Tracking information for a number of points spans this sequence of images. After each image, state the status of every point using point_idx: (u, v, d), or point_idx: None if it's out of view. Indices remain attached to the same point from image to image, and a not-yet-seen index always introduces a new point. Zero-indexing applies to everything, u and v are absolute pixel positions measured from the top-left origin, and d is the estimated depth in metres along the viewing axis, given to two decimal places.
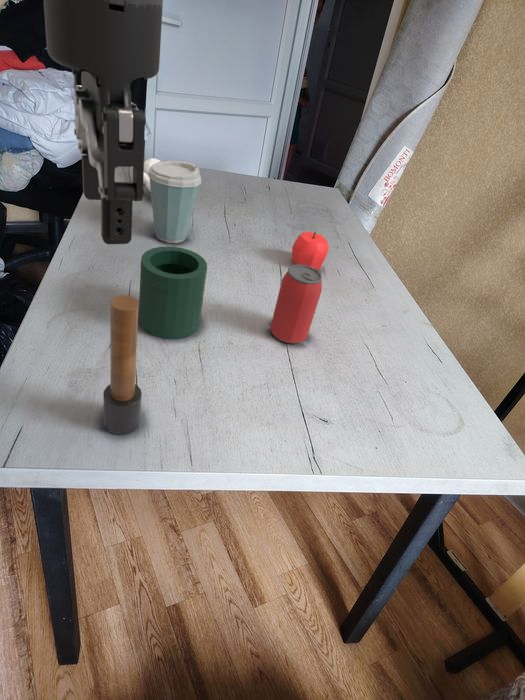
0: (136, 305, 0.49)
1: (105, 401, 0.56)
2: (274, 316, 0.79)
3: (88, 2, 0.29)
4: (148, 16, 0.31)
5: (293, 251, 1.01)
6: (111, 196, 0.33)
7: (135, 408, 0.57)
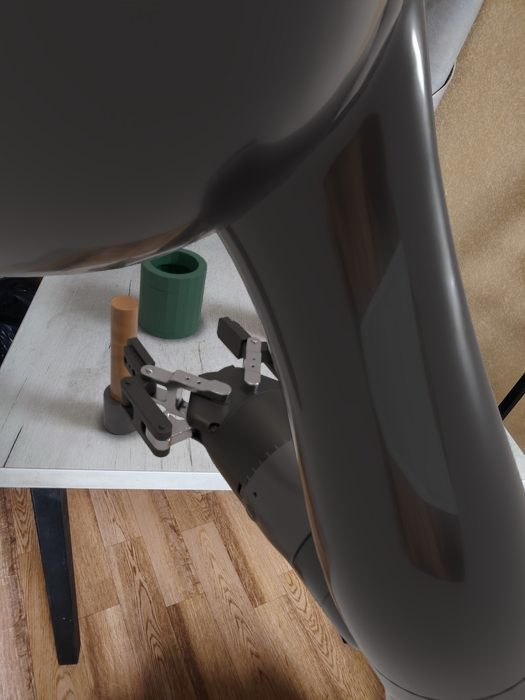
0: (136, 305, 0.49)
1: (105, 401, 0.56)
2: None
3: (248, 470, 0.29)
4: None
5: None
6: (120, 385, 0.33)
7: None
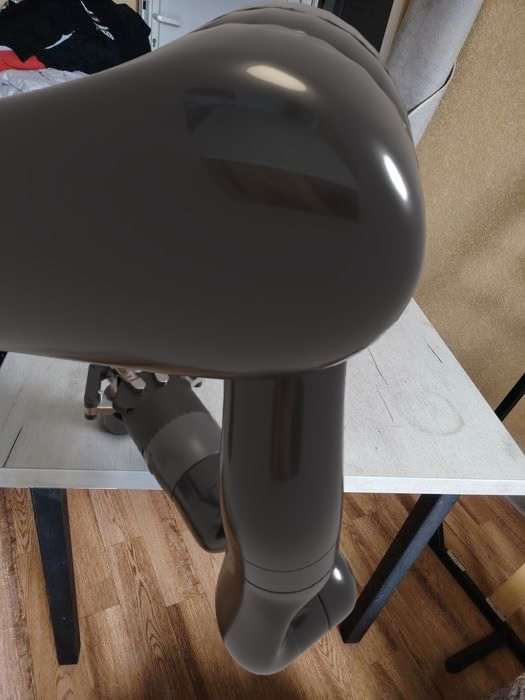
0: None
1: None
2: None
3: (147, 439, 0.43)
4: None
5: None
6: None
7: None
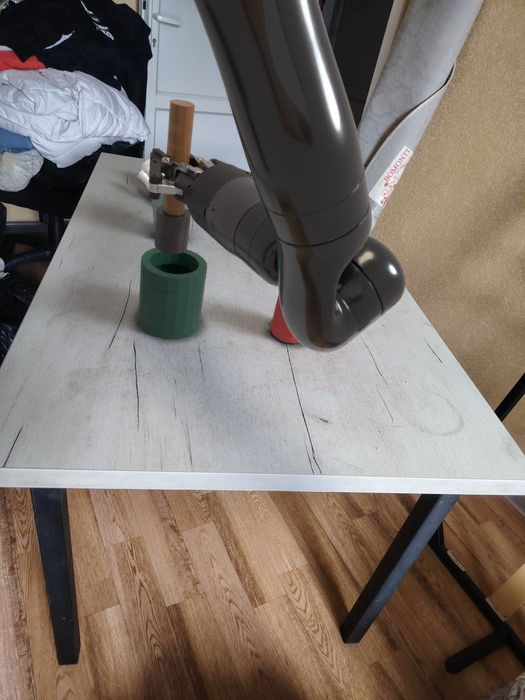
0: (193, 105, 0.54)
1: (158, 215, 0.61)
2: (274, 316, 0.79)
3: (209, 197, 0.48)
4: (207, 231, 0.50)
5: None
6: None
7: (185, 225, 0.62)
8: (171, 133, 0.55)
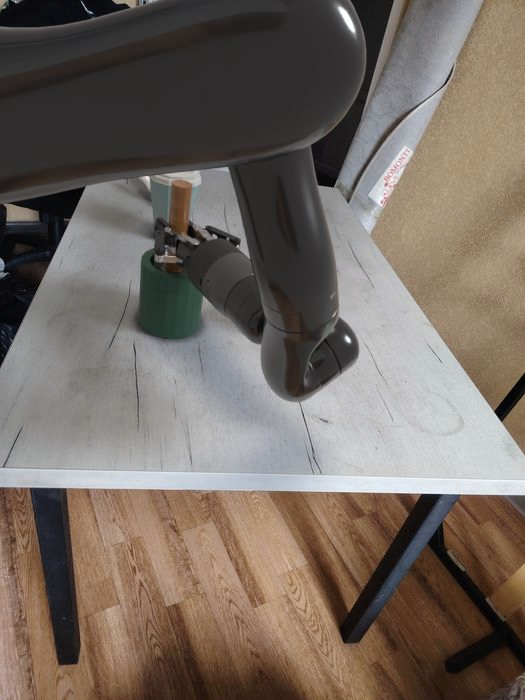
0: (191, 185, 0.65)
1: None
2: None
3: (205, 270, 0.58)
4: (203, 294, 0.61)
5: None
6: None
7: None
8: (172, 208, 0.66)
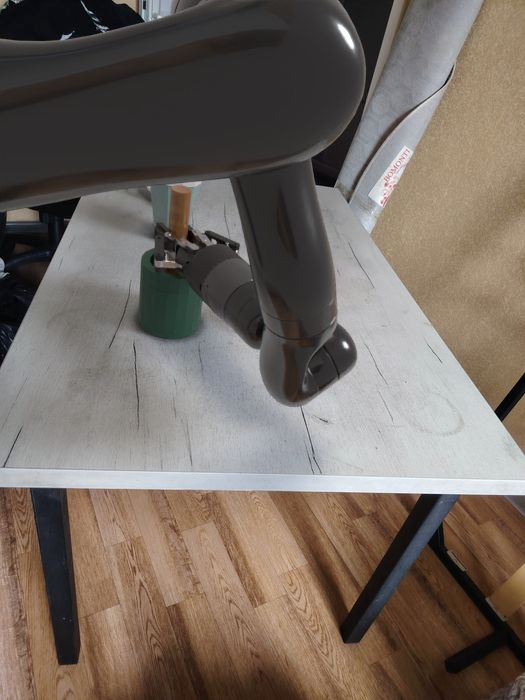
0: (190, 191, 0.65)
1: None
2: None
3: (204, 275, 0.59)
4: None
5: None
6: None
7: None
8: (172, 213, 0.66)
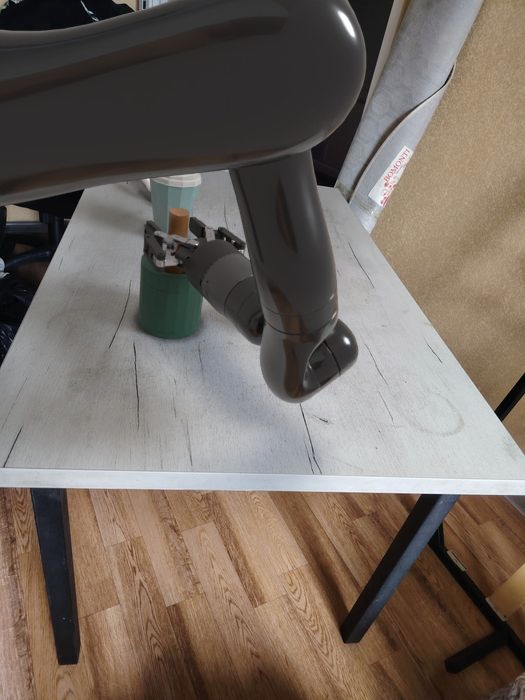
0: (188, 213, 0.67)
1: None
2: None
3: (204, 271, 0.59)
4: (202, 295, 0.61)
5: None
6: (144, 237, 0.64)
7: None
8: (170, 234, 0.68)
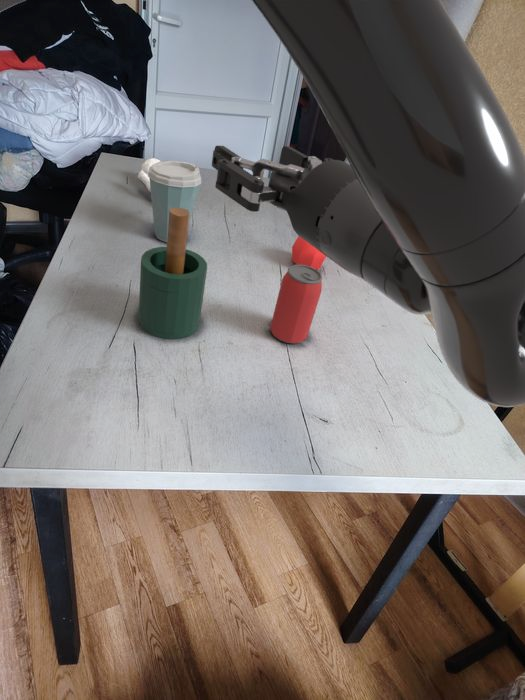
0: (188, 213, 0.67)
1: None
2: (274, 316, 0.79)
3: (325, 202, 0.39)
4: (315, 243, 0.41)
5: (293, 251, 1.01)
6: (218, 164, 0.43)
7: None
8: (170, 234, 0.68)
